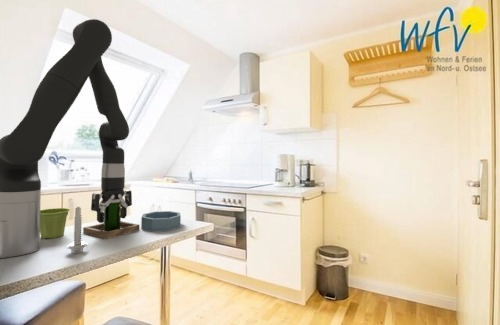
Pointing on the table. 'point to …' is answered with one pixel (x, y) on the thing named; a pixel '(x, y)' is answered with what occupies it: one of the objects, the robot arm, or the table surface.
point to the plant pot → (53, 222)
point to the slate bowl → (160, 221)
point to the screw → (77, 234)
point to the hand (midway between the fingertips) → (112, 220)
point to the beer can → (112, 215)
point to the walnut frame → (97, 231)
